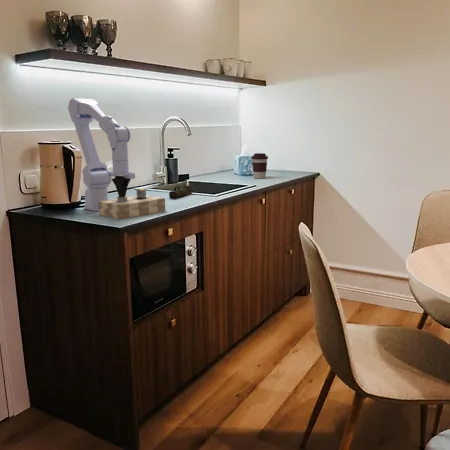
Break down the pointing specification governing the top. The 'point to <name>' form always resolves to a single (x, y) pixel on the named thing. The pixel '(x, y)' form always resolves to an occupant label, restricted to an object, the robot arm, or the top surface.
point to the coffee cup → (259, 165)
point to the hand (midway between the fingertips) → (122, 196)
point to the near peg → (122, 199)
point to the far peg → (141, 194)
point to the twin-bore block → (131, 207)
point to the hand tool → (180, 192)
